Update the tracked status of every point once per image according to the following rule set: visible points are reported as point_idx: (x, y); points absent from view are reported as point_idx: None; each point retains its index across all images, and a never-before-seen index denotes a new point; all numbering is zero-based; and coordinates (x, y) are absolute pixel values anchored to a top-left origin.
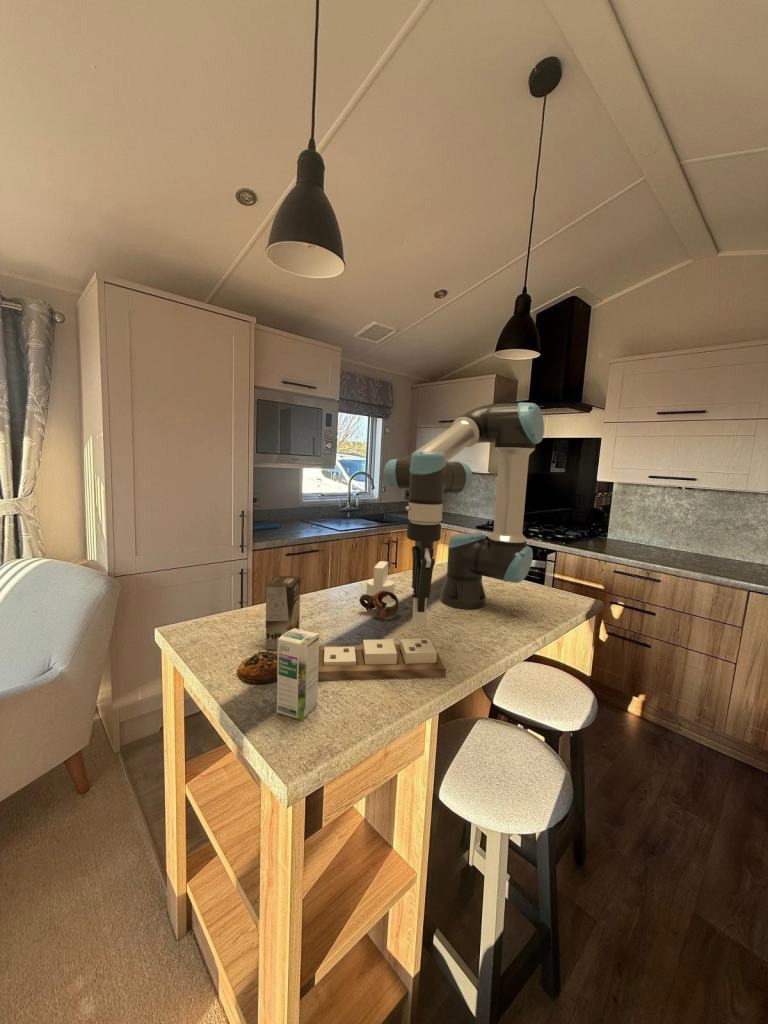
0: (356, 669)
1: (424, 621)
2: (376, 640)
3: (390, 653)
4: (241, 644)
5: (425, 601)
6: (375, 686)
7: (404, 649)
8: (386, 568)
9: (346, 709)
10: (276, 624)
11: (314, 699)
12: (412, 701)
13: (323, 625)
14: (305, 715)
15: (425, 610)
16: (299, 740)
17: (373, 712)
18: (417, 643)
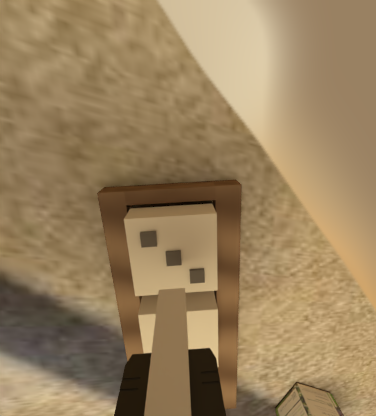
0: (232, 356)
1: (185, 300)
2: (148, 348)
3: (217, 322)
4: None
5: (189, 395)
6: (257, 313)
7: (195, 291)
8: None
9: (315, 349)
10: None
11: (312, 399)
12: (314, 257)
13: (7, 404)
14: (326, 393)
15: (186, 340)
16: (366, 389)
17: (331, 316)
18: (166, 260)
